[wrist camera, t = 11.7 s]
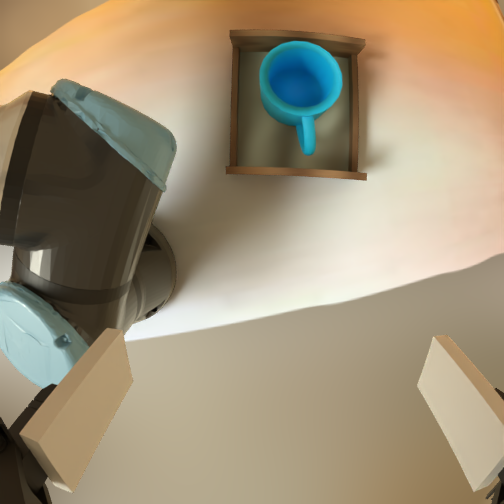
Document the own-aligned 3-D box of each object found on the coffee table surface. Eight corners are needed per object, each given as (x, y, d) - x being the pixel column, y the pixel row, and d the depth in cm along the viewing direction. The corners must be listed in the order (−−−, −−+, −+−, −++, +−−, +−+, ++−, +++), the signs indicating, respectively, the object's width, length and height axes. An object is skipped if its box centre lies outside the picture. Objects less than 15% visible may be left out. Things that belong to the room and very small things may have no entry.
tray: (231, 172, 38) (225, 174, 32) (234, 48, 33) (229, 30, 28) (351, 177, 37) (366, 180, 31) (351, 55, 33) (365, 39, 27)
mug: (255, 69, 34) (252, 45, 26) (320, 62, 33) (333, 38, 25) (271, 161, 37) (273, 159, 29) (337, 152, 36) (355, 150, 28)
